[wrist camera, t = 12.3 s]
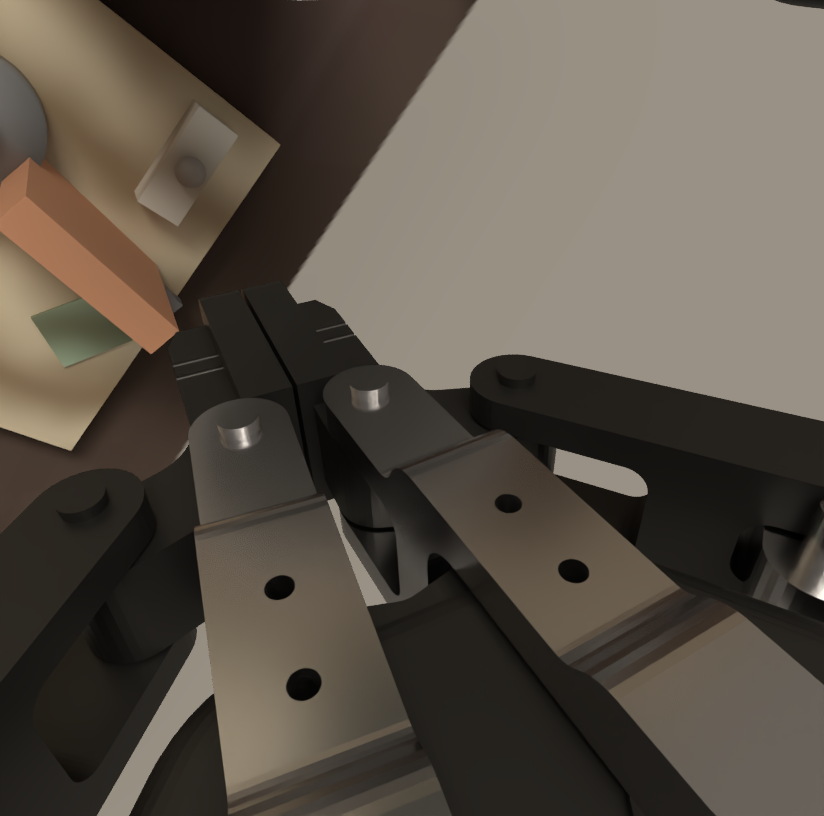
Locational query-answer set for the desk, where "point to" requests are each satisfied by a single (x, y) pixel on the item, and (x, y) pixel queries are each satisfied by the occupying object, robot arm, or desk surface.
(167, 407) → the desk surface
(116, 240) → the orange grey panel fixture
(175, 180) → the level stand
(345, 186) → the desk surface
